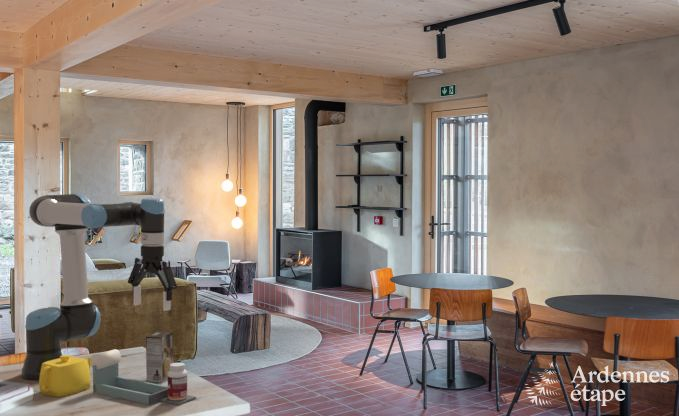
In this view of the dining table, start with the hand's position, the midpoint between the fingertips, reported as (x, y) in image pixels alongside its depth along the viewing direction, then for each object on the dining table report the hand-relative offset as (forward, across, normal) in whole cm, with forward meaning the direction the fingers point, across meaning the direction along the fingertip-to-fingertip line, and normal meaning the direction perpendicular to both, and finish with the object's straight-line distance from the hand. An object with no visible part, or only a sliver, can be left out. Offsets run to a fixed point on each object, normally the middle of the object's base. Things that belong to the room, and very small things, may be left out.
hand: (151, 307), depth 246 cm
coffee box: (+28, -5, +10) cm, 30 cm away
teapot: (+29, -23, -15) cm, 40 cm away
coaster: (+27, +17, -5) cm, 32 cm away
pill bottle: (+27, +17, -5) cm, 32 cm away
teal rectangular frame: (+28, 0, -8) cm, 29 cm away
